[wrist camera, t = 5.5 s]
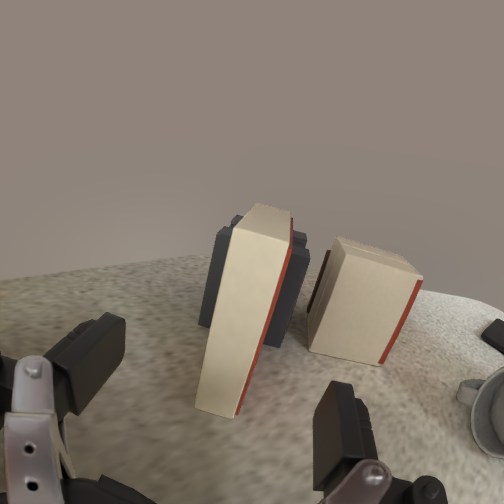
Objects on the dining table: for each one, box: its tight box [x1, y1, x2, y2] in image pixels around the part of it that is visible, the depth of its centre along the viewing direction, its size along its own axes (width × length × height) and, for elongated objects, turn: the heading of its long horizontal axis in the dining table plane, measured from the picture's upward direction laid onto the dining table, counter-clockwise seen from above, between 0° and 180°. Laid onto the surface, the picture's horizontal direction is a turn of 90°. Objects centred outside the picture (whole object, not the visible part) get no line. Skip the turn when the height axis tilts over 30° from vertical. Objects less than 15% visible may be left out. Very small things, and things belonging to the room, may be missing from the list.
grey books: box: [198, 215, 310, 348], centre depth 27 cm, size 7×9×8 cm
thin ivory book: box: [194, 203, 293, 419], centre depth 18 cm, size 3×8×11 cm, turn 172°
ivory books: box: [306, 236, 423, 366], centre depth 27 cm, size 7×8×9 cm
